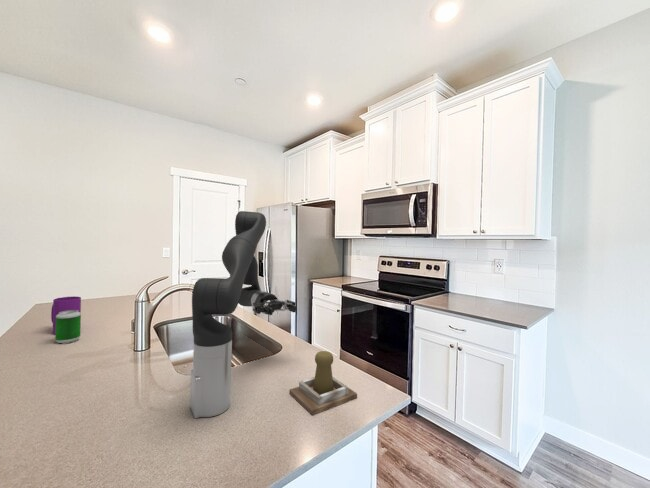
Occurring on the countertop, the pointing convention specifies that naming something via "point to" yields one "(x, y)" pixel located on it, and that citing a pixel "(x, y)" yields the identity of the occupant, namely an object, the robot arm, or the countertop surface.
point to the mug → (64, 307)
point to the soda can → (68, 326)
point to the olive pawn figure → (323, 373)
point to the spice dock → (321, 396)
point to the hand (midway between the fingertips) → (283, 310)
